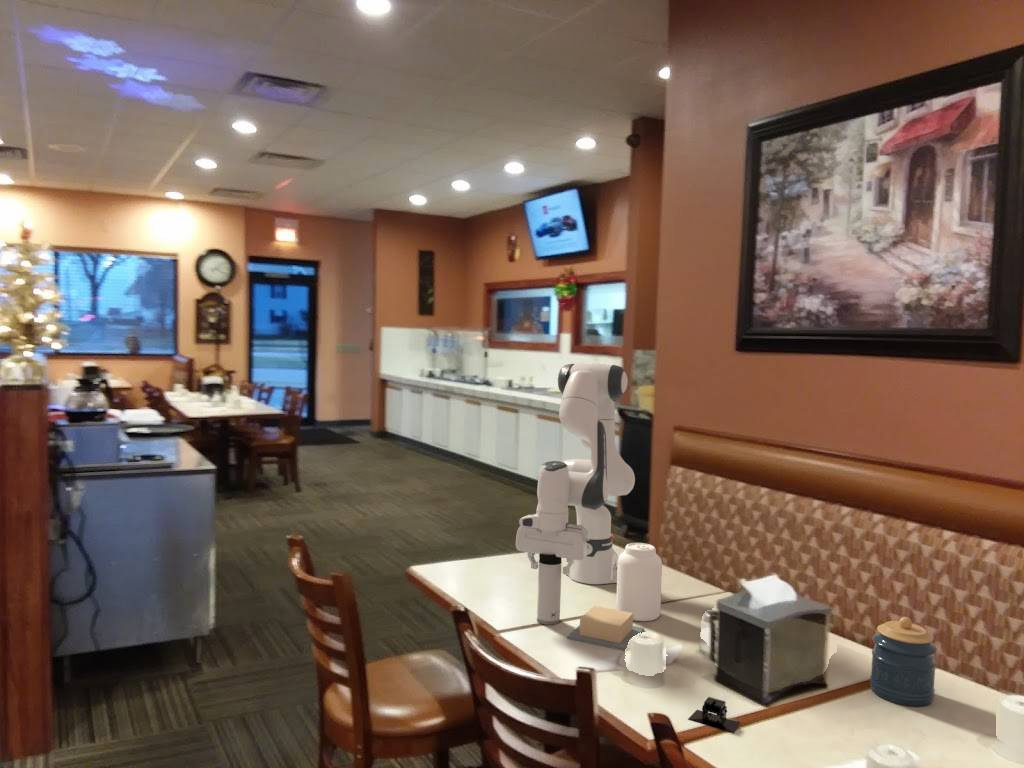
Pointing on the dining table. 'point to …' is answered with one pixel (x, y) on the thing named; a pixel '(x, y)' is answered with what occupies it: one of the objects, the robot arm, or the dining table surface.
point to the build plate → (715, 716)
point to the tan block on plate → (606, 628)
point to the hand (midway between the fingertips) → (550, 571)
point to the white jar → (639, 582)
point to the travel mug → (549, 589)
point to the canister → (903, 663)
